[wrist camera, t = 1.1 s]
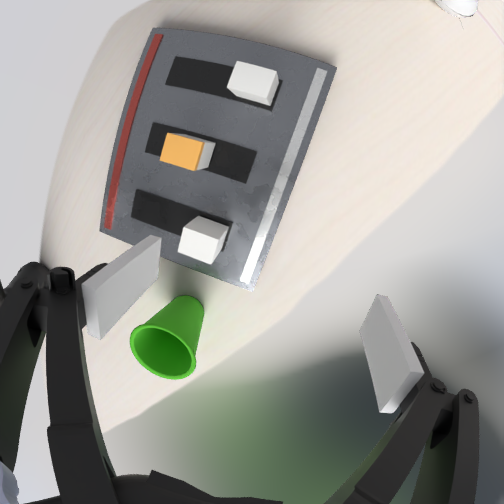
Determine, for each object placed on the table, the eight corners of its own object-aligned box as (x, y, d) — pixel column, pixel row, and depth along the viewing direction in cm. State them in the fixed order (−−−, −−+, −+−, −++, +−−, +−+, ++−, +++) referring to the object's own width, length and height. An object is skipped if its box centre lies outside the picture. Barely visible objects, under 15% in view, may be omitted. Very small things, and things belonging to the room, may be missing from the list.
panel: (106, 227, 39) (98, 231, 37) (159, 32, 28) (152, 27, 26) (254, 284, 39) (252, 292, 37) (334, 71, 28) (337, 67, 26)
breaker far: (192, 237, 35) (177, 251, 30) (198, 215, 34) (183, 226, 29) (221, 248, 35) (211, 264, 30) (228, 226, 34) (218, 239, 29)
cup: (154, 284, 41) (119, 323, 31) (210, 281, 40) (184, 325, 30) (170, 332, 44) (143, 376, 34) (222, 332, 43) (203, 382, 33)
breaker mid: (177, 157, 32) (159, 160, 27) (184, 134, 30) (167, 132, 26) (208, 167, 32) (194, 171, 27) (215, 143, 30) (202, 142, 26)
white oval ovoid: (422, -22, 18) (439, -43, 12) (462, 0, 18) (484, -16, 11) (421, 21, 22) (443, 2, 15) (464, 44, 22) (490, 32, 15)
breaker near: (236, 96, 28) (226, 87, 24) (245, 73, 27) (236, 60, 22) (270, 106, 28) (266, 98, 24) (278, 82, 27) (276, 71, 22)
